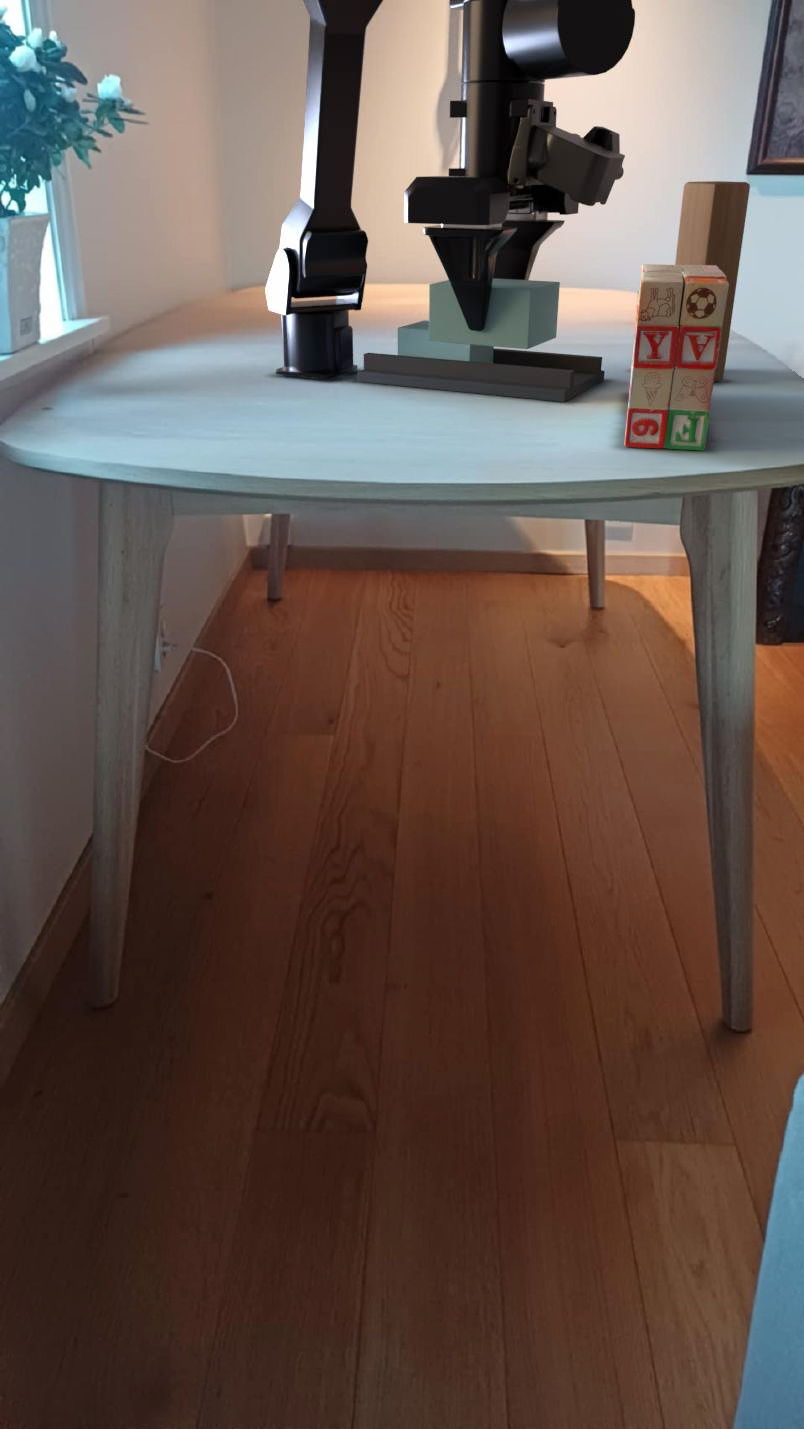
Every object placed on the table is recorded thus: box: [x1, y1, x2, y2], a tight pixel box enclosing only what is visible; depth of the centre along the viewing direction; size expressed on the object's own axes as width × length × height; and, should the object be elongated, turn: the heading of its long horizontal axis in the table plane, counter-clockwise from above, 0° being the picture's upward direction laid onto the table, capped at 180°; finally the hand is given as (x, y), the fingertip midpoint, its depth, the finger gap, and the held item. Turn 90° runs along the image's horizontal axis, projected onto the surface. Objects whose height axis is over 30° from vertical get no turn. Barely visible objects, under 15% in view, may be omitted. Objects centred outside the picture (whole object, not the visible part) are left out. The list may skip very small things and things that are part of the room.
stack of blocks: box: [623, 263, 729, 451], centre depth 88 cm, size 21×6×12 cm, turn 168°
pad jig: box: [357, 320, 606, 403], centre depth 105 cm, size 22×12×5 cm, turn 63°
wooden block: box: [674, 180, 751, 382], centre depth 104 cm, size 9×4×18 cm, turn 27°
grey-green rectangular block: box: [428, 278, 561, 350], centre depth 79 cm, size 8×6×4 cm
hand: (493, 325), depth 79 cm, fingers closed on grey-green rectangular block, 6 cm apart
